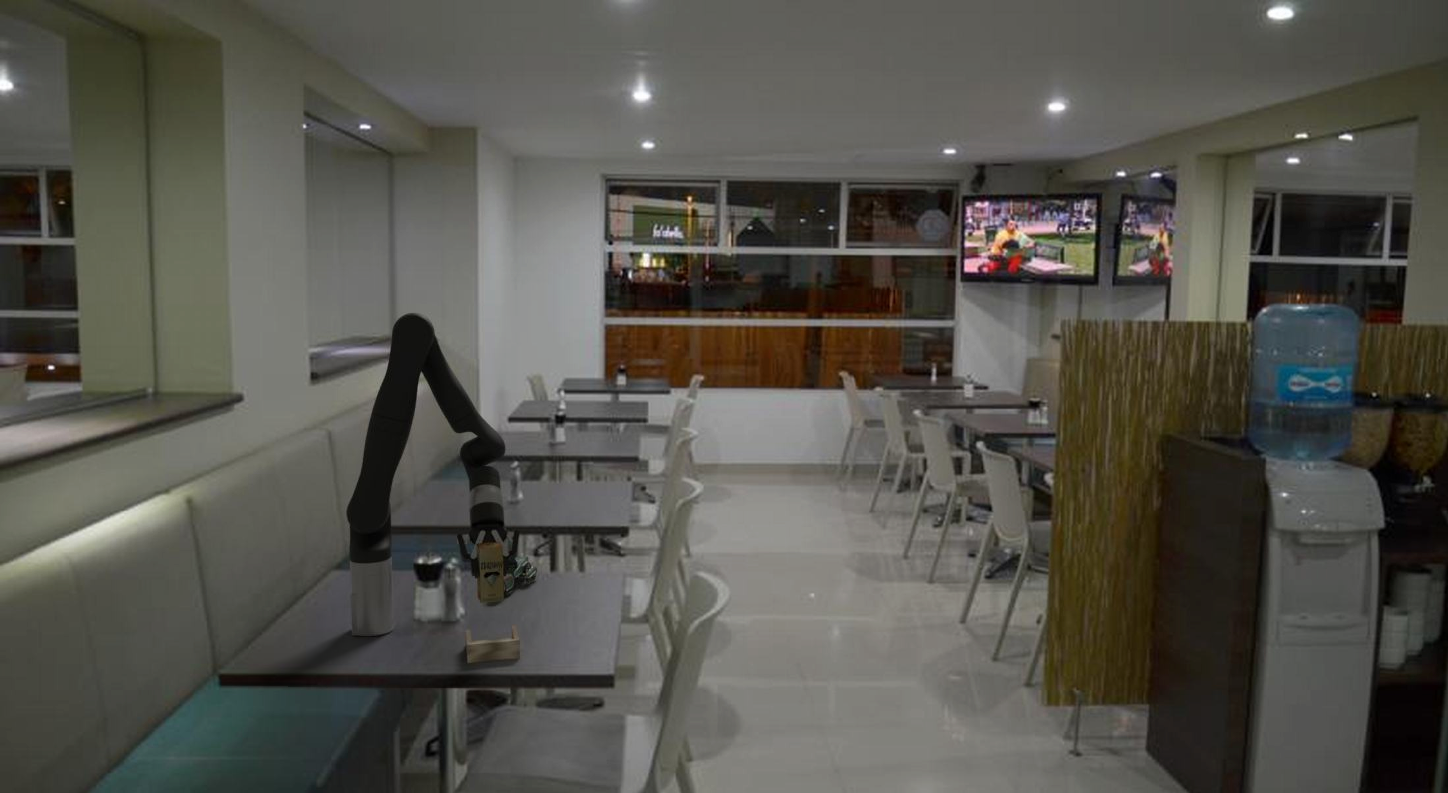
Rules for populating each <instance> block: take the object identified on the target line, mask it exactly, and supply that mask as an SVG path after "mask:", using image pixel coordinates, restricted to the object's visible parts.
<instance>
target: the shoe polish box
mask: <svg viewBox="0 0 1448 793" xmlns="http://www.w3.org/2000/svg"><path fill="white" fill-rule="evenodd" d="M476 546H477V557H476V559H477V562H478V578H476V583H477V584H476V586H477V589H476V590H477V598H478V600H479V602H480V603H481V604H486V603H498V602H504V601H505V593H504V574H503V546H502V545H501V544H500V542H487V543H477V544H476Z"/></svg>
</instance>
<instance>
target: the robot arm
mask: <svg viewBox="0 0 1448 793" xmlns="http://www.w3.org/2000/svg"><path fill="white" fill-rule="evenodd" d="M389 351H390V352H389V357H388V362H387V367H386V371H385V374H384V376H383V380H382V382H381V384H380V386H379V389H378V392H377V394H376V397H375V400H374V404H373V406H372V408H371V412H370V413H371V414H370V418H369V422H368V425H367V430H366V436H365V440H364V448H363V454H362V455H363V456H362V463H361V468H360V473H359V476H358V479H357V482H356V485H355V488H354V490H353V494H352V496H351V498H350V500H349V502H348V503H347V507H346V514H345V515H346V518H347V519H346V520H347V522H348V525H349V548H348V551H349V554H348V555H349V571H350V574H349V575H350V598H349V599H350V618H351V619H350V620H351V621H350V622H351V623H350V624H351V636H360V637H374V636H375V637H376V636H380V635H385V634H389V633H390V632H393V630H394V629H395V614H394V612H395V611H394V590H393V589H394V588H393V564H392V562H393V560H392V545H393V544H392V541H393V540H392V537H393V536H392V508H391V501H390V499H391V492H392V488H393V487H392V486H393V481H394V477H395V474H396V472H397V470H398V467H399V464H400V461H401V459H402V457H403V454H404V453H405V452H404V451H405V449H406V446H407V443H408V441H409V437H410V434H411V430H412V425H413V421H414V417H415V413H416V407H417V399H418V392H419V391H418V390H419V389H418V388H419V381H420V377H421V375H423V377H424V379H425V381H426V383H427V384H428V387H429V388H430V390H431V393H432V395H433V397H434V399H435V401H436V403H437V405H438V407H439V408H440V411H441V412H442V414H443V416H444V418H445V419H446V420H447V422H448V424H449V426H450V428H451V430H453V432H454V433H456V434H464V433H472V434H474V435H475V437H473V438H471V439H469V440H467V441H465V442H464V443H463V444H462V445H461V448H460V449H459V450H460V451H459V457H460V460H461V462H462V465H463V467H464V471H465V473H466V475H467V478H468V485H469V486H468V487H469V488H468V489H469V499H468V511H469V525H470V530H469V533H466V534H462V533H457V535H456V544H457V547H458V551H459V555H460V557H461V561H462V562H463V563H469V565H470V573H471V577H474V579H476V580H477V578H478V562H477V559H476V557H477V546H476V544H477V543H487V542H500V544H501V545H502V546H503V574H504V576H506V574H509V560H510V559H516V557H518V556H517V554H518V548H519V541H520V531H519V530H517V529H516V530H514V531H509V530H508V529H507V528H506V524H505V523H506V522H505V512H504V509H505V508H504V500H503V495H502V486H501V475H500V473H499V470H498V469H497V468H495V467H493V466H491V465H489V464H492V463H494V462H497V461H498V460H500V459H502V458H503V457H504V456H505V453H506V449H507V448H506V444H505V441H504V439H503V437H502V436H501V435H500V434H499V432H498V431H496V429H495V428H493V427H492V426H491V425H490V424H489V423H488V422H487V421H486V420H485V419H484V418H483V416H482V415H481V414H480V413H479V412H478V409H477V408H476V407H475V404H474V403H473V401H472V400H471V398H470V396H469V395H468V393H467V391H466V389H465V388H464V386H463V385H462V383H461V382H460V380H459V379H458V377H457V376H456V374H455V373H454V372H453V370H452V368H451V366H450V365H449V363H448V361H447V359H446V357H445V355H444V353H443V351H442V349H441V347H440V344H439V342H438V339H437V335H436V333H435V326H434V324H433V323H432V321H431V320H430V319H429V318H428V317H427V316H425V315H424V314H422V313H418V312H409V313H406V314H403V315H402V316H400V317H399V318H398V319H397V320H396V321H395V323H394V325H393V327H392V332H391V343H390V350H389ZM421 373H422V374H421ZM507 538H508V539H509V542H511V550H509V551H508V550H507V548H506V546H505V543H504V541H505V540H506V539H507ZM468 541H470V542H471V543H472V544H473V549H472V552H471V553H468V550H467V544H468Z"/></svg>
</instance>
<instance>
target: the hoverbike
mask: <svg viewBox="0 0 1448 793" xmlns="http://www.w3.org/2000/svg"><path fill="white" fill-rule="evenodd" d="M538 571H539V570H538V568H537V566H536V565H532V564H531V562H530V558H529V557H528V556H527V555H524V553H521V555H519V556H516V558H515V559H510V560H509V574H506V576H504V596H506V597H509V595H510V594H511V593H512V592H513V591H514V588H515V587H516V585H515V583H517V582H518V580H519V578H520V577H522V578H523V579H524V582H525V584H526V585H530V584H531V582H532V581H536V578H537V576H536V575H538V574H539V573H538Z"/></svg>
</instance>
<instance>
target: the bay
mask: <svg viewBox="0 0 1448 793" xmlns="http://www.w3.org/2000/svg"><path fill="white" fill-rule="evenodd" d="M471 632H472V631H471V629H466V630H465V648H466V659H467V663H468V664H471V663H482V662H483V663H484V662H492V661H493V662H494V661H501V660H502V661H503V660H504V661H505V660H513V659H514V660H515V659H521V650H520V649H521V647H520V646H521V645H520V637H519V633H518V628H517V625H511V636H506V637H498V638H497V637H496V638H486V639H476V640H475V639H474V640H473V639H472V634H471Z"/></svg>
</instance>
